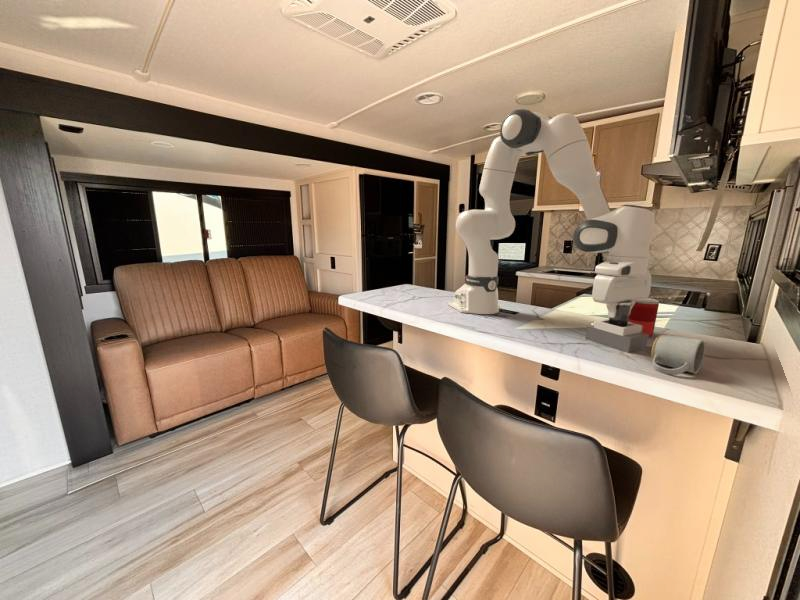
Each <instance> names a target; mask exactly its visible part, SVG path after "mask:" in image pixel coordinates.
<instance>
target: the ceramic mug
mask: <svg viewBox="0 0 800 600" xmlns="http://www.w3.org/2000/svg"><path fill="white" fill-rule="evenodd" d="M651 347H652V348H651V358H652V365H653V368H654V369H655V370H656V371H658V372H660V373H662V374H665V375H671V376H673V375H675V376H676V375H681V374H682V373H684V372H687V373H690V374H693V375H694V374H697V373H698V372H699V371H700V370H701V367H702V364H703V361H704V357H705V351H706V343H705V341H704V340H703V339H697V338H690V337H684V336H676V335H673V334H671V335H670V334H659V335H658V336H657V337H655V339H654V341H653V343H652V346H651ZM657 363H658V364H657ZM659 364H660V365H663V366H667V367H671V368H666V367H662V366H660V365H659Z"/></svg>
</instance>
